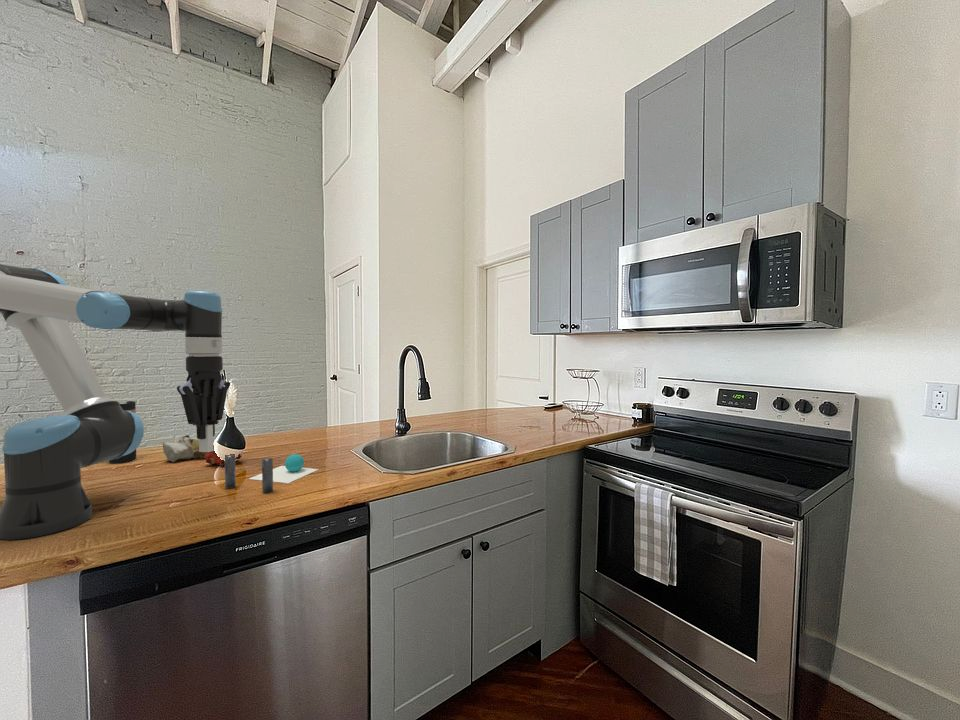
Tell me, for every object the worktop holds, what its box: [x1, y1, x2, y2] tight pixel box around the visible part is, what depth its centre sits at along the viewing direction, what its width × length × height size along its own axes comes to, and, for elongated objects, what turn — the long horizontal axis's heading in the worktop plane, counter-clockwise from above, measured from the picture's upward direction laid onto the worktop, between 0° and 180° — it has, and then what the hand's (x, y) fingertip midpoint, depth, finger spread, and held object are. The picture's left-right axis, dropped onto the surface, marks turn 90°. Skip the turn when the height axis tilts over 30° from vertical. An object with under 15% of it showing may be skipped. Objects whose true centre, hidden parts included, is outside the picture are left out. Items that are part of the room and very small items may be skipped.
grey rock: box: [162, 434, 204, 463], centre depth 148 cm, size 11×9×15 cm
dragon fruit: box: [200, 444, 242, 467], centre depth 141 cm, size 8×8×12 cm
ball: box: [284, 453, 305, 472], centre depth 133 cm, size 6×6×6 cm
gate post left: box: [224, 454, 237, 490], centre depth 119 cm, size 3×3×9 cm
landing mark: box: [248, 465, 319, 485], centre depth 131 cm, size 14×14×1 cm
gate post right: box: [261, 457, 274, 494], centre depth 115 cm, size 3×3×9 cm
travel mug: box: [108, 400, 137, 465], centre depth 144 cm, size 8×8×20 cm
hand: (206, 451), depth 104 cm, fingers closed
